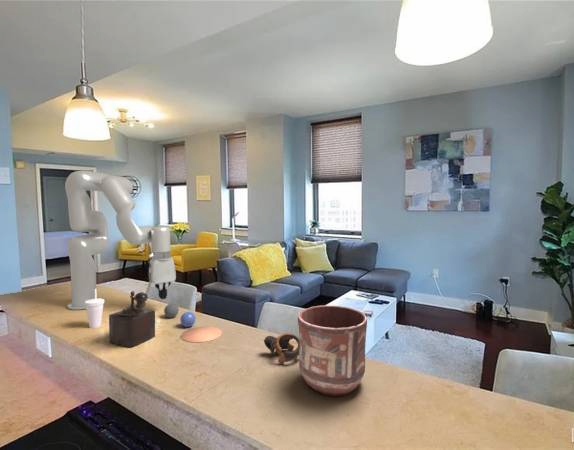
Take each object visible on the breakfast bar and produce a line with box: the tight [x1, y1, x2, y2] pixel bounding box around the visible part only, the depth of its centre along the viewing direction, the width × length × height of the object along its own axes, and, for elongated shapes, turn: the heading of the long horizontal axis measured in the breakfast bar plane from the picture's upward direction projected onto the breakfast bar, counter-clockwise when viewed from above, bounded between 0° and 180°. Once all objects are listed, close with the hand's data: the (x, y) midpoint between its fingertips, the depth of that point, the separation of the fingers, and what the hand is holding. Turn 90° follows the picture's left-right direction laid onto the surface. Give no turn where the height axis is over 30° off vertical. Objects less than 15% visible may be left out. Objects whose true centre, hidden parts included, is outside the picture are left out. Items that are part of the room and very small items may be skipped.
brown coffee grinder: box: [108, 290, 156, 348], centre depth 109 cm, size 16×11×18 cm
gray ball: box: [163, 303, 180, 319], centre depth 132 cm, size 6×6×6 cm
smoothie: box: [85, 288, 105, 329], centre depth 121 cm, size 6×6×14 cm
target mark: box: [180, 326, 223, 343], centre depth 115 cm, size 14×14×1 cm
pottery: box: [297, 304, 368, 397], centre depth 84 cm, size 18×18×18 cm
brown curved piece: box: [263, 332, 300, 365], centre depth 98 cm, size 12×10×8 cm
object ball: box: [179, 311, 197, 328], centre depth 122 cm, size 6×6×6 cm
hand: (163, 298), depth 139 cm, fingers closed
